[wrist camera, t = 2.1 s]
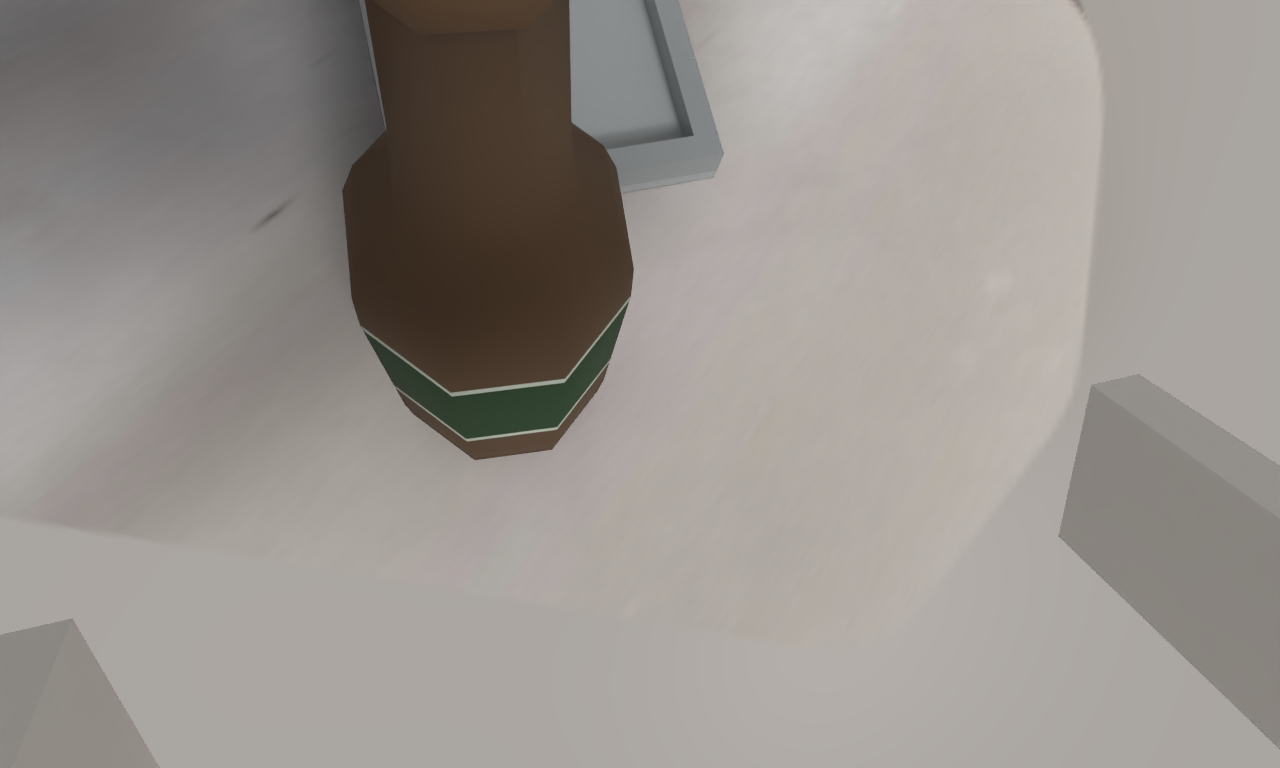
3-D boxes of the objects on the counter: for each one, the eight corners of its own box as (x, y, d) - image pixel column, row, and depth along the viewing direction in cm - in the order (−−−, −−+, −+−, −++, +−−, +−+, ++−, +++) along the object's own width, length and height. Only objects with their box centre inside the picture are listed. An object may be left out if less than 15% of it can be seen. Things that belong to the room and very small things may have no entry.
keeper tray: (407, 229, 35) (400, 207, 33) (352, -41, 38) (343, -76, 36) (713, 177, 38) (723, 153, 36) (640, -74, 40) (645, -108, 39)
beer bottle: (373, 438, 33) (23, 24, 10) (434, 254, 35) (261, -434, 12) (574, 489, 33) (680, 206, 10) (622, 304, 36) (797, -269, 13)
